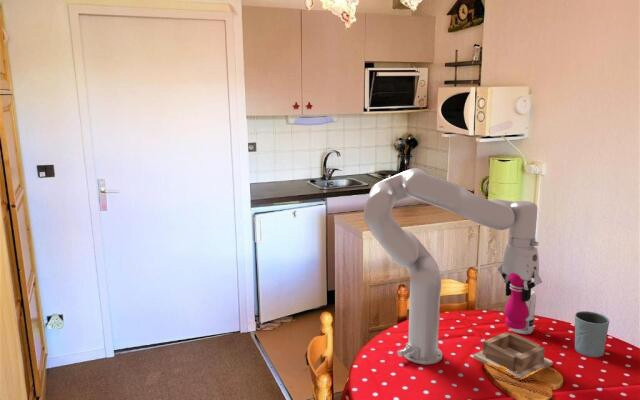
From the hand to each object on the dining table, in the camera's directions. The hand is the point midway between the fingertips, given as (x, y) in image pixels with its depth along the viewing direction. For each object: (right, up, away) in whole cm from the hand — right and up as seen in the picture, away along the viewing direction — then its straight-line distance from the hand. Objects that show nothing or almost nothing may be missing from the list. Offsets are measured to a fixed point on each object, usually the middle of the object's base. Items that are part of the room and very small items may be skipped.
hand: (517, 297), depth 155 cm
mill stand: (0, -21, +4) cm, 22 cm away
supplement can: (+12, -17, +26) cm, 33 cm away
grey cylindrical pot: (+28, -20, +11) cm, 36 cm away
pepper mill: (0, -9, +2) cm, 10 cm away
